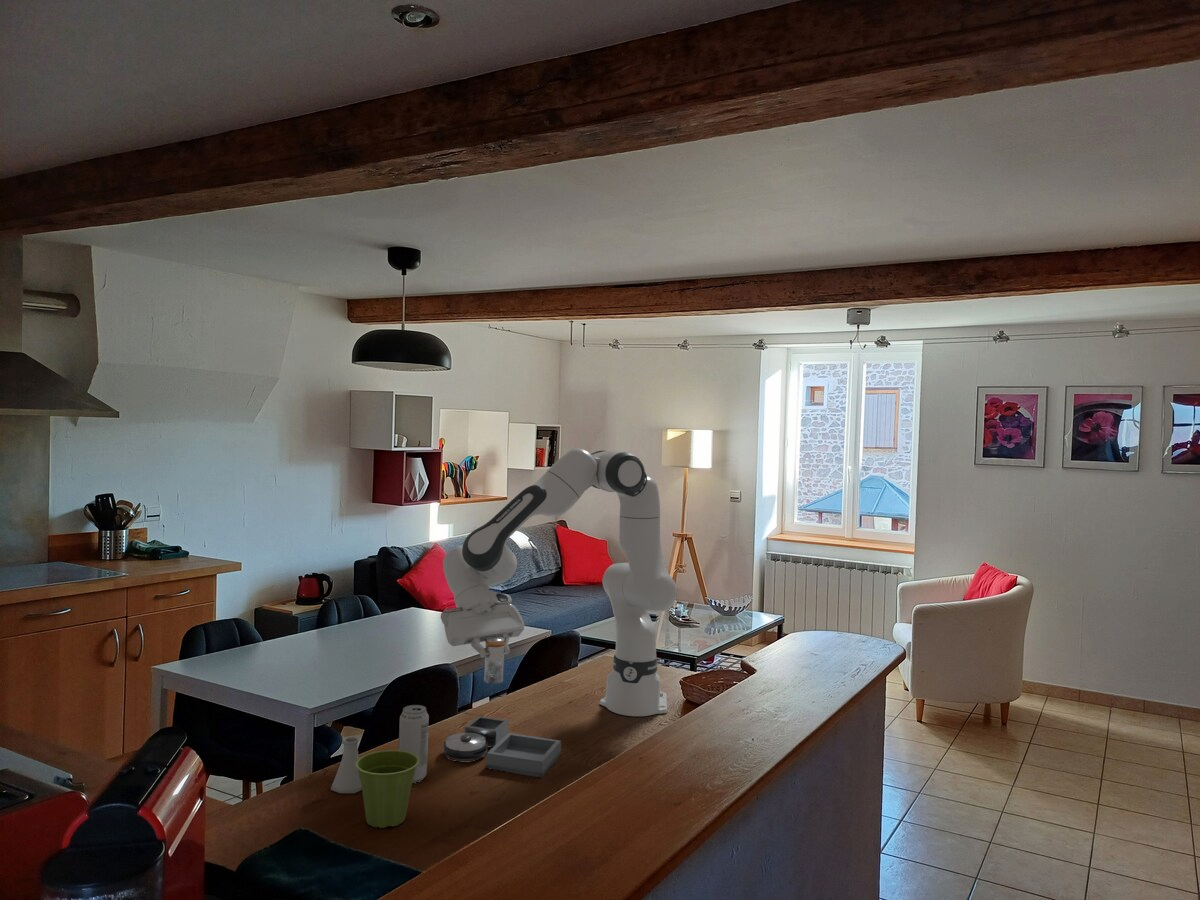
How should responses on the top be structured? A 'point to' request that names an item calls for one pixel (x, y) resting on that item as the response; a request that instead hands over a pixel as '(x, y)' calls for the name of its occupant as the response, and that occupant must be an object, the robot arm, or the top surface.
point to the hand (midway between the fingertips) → (496, 654)
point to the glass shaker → (494, 660)
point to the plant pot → (386, 785)
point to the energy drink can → (415, 736)
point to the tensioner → (475, 739)
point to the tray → (524, 755)
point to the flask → (348, 769)
